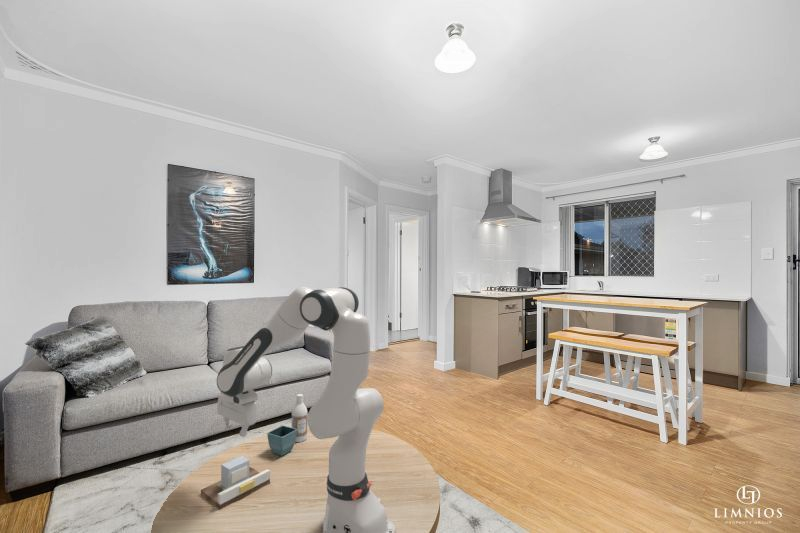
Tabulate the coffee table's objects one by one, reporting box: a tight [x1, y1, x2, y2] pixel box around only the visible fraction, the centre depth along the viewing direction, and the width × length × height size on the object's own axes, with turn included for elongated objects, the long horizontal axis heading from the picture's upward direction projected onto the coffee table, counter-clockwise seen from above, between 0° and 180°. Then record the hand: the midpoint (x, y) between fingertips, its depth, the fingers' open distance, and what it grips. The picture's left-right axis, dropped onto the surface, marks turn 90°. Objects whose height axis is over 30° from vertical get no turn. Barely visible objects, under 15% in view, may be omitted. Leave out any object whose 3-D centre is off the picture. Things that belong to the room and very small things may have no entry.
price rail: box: [218, 468, 271, 505], centre depth 122 cm, size 2×18×3 cm, turn 144°
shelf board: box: [200, 466, 271, 510], centre depth 126 cm, size 13×18×2 cm
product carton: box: [220, 455, 250, 489], centre depth 126 cm, size 5×8×7 cm
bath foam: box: [291, 393, 309, 443], centre depth 163 cm, size 7×7×20 cm
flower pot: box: [266, 425, 297, 457], centre depth 151 cm, size 9×9×9 cm
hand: (235, 432), depth 127 cm, fingers open, 8 cm apart
